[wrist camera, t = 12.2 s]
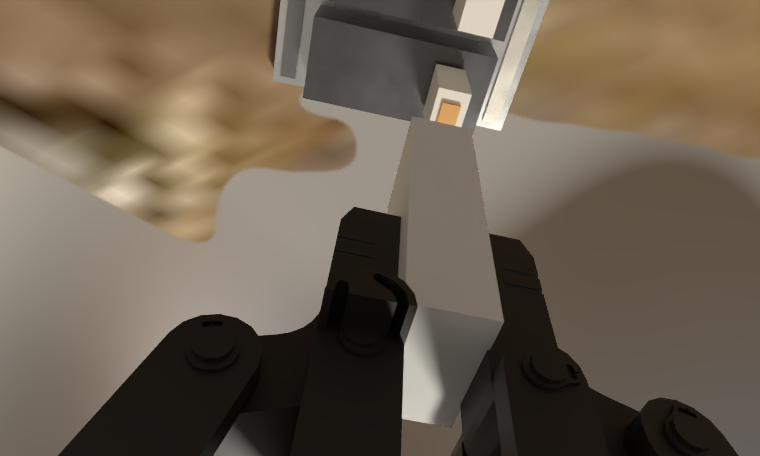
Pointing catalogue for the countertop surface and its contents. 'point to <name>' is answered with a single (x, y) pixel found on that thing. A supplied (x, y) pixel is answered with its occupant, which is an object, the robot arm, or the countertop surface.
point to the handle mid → (478, 16)
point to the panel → (401, 54)
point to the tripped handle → (448, 96)
